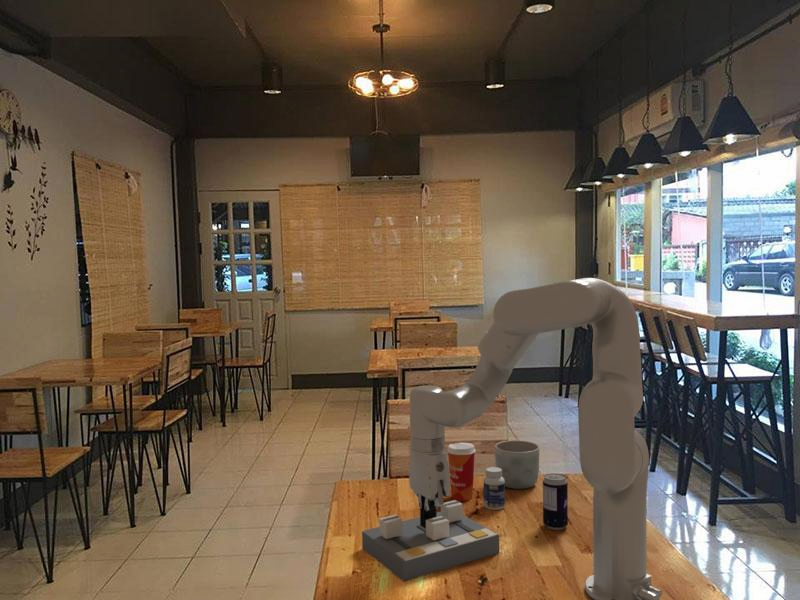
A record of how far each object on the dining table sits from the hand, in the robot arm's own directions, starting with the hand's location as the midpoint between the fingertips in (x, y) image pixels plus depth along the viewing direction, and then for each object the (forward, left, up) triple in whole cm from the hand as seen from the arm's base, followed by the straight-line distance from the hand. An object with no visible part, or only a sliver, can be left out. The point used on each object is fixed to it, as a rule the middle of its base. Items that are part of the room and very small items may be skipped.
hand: (428, 525), depth 147 cm
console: (0, 0, -6) cm, 6 cm away
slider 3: (+3, -8, -2) cm, 9 cm away
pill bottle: (+13, -28, -6) cm, 31 cm away
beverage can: (-5, -32, -6) cm, 33 cm away
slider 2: (-4, 0, -2) cm, 4 cm away
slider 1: (+3, +8, -2) cm, 8 cm away
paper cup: (+23, -25, -6) cm, 34 cm away
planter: (+23, -44, -6) cm, 50 cm away
